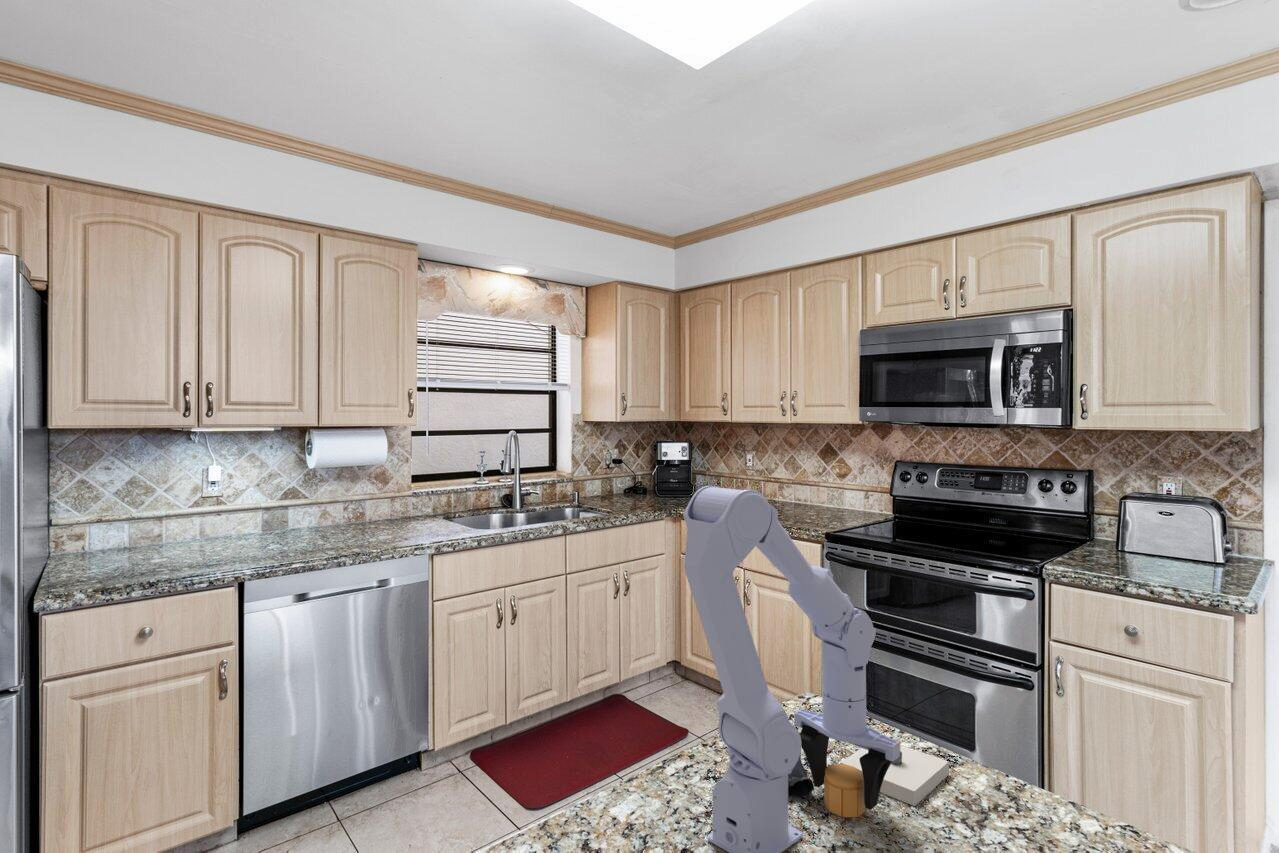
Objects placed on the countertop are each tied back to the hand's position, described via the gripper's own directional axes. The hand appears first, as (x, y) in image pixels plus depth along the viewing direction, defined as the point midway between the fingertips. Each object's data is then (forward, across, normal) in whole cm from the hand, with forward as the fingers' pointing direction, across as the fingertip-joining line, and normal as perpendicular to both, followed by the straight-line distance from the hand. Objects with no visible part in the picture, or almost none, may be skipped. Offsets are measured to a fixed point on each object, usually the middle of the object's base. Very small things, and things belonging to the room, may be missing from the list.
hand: (844, 794), depth 88 cm
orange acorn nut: (+2, 0, 0) cm, 2 cm away
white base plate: (+2, -1, -13) cm, 13 cm away
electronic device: (+2, +12, -1) cm, 12 cm away
